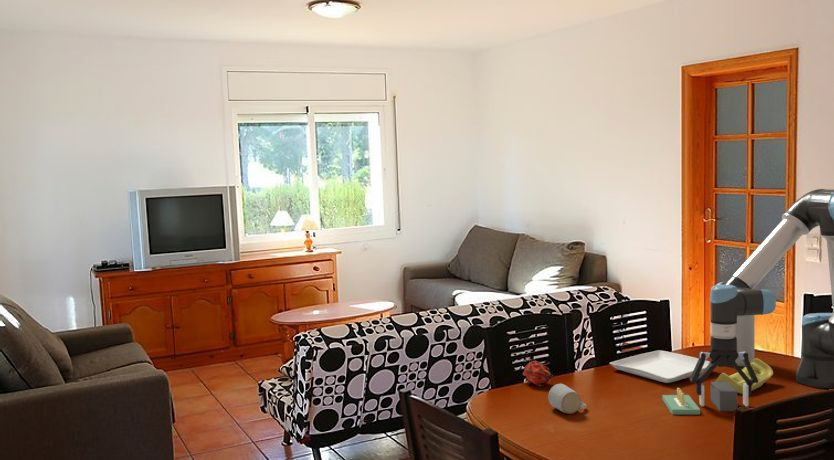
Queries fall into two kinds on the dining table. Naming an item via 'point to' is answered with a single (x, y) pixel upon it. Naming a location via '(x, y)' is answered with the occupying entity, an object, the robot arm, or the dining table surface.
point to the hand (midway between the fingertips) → (723, 405)
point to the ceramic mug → (565, 399)
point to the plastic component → (736, 380)
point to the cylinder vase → (745, 337)
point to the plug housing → (723, 396)
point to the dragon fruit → (537, 373)
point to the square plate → (659, 366)
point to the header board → (680, 403)
